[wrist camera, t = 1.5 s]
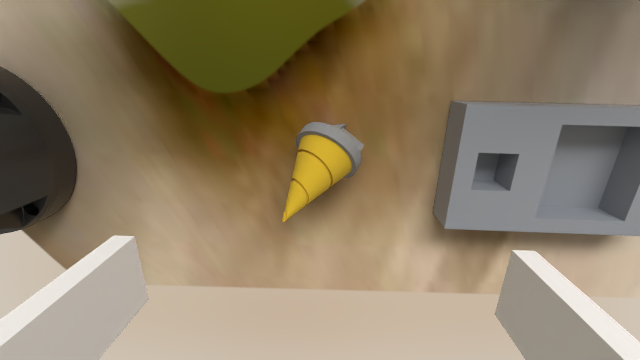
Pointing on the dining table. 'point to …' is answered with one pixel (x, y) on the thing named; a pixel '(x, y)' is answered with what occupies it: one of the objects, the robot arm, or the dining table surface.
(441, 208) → the bit holder block
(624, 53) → the dining table surface
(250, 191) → the dining table surface
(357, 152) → the yellow grooved cone
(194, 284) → the dining table surface
